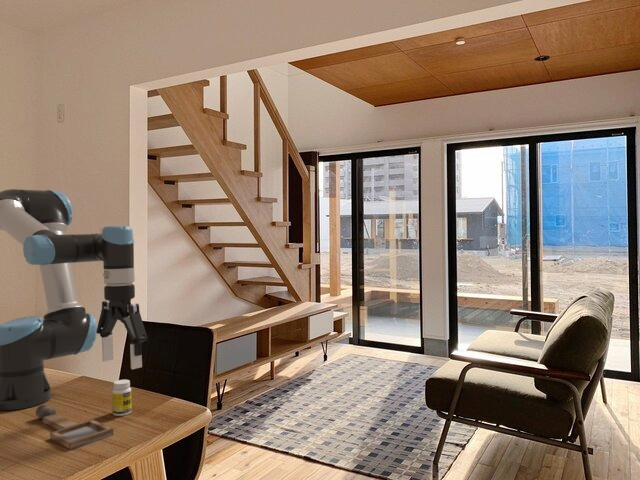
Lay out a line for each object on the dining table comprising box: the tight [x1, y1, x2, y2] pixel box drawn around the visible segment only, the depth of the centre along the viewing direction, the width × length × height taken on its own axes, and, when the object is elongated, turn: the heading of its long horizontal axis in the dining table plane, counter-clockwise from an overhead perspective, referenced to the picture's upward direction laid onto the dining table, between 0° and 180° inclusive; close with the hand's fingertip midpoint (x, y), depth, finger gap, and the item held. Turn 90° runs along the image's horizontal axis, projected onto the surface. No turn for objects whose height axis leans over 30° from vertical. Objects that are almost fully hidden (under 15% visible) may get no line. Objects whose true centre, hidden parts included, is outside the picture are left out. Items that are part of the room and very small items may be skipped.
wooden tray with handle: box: [35, 404, 114, 450], centre depth 123 cm, size 26×10×3 cm, turn 53°
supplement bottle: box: [111, 379, 133, 417], centre depth 133 cm, size 5×5×8 cm
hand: (121, 364), depth 133 cm, fingers open, 13 cm apart
